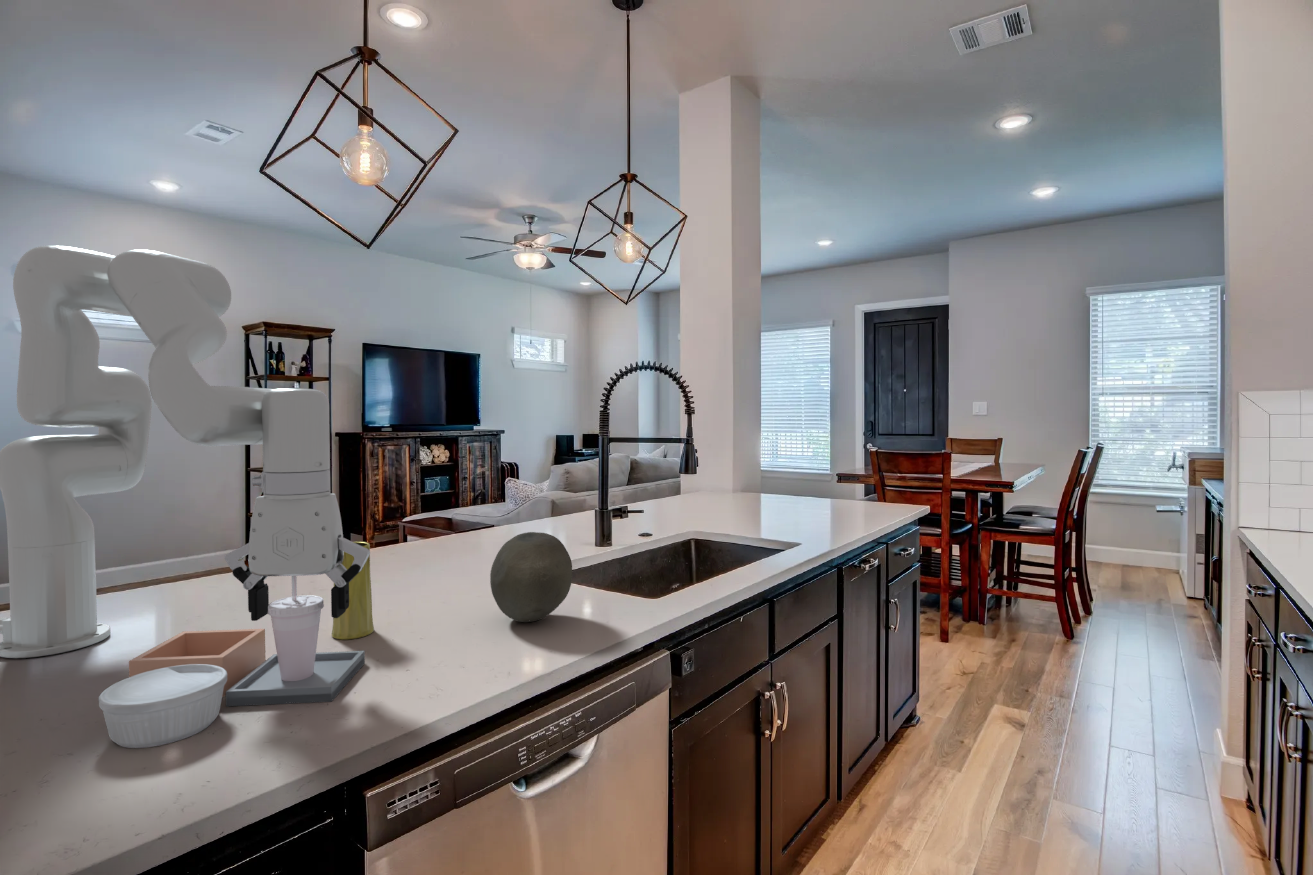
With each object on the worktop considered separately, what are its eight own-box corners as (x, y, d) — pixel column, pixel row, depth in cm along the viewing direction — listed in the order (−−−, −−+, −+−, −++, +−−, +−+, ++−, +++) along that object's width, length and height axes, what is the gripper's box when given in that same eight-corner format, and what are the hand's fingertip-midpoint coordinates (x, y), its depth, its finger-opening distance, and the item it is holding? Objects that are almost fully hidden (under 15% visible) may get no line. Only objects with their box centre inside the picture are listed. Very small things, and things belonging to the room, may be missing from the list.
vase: (357, 641, 98) (356, 549, 98) (322, 638, 99) (321, 547, 99) (381, 628, 104) (380, 541, 104) (348, 625, 105) (347, 540, 105)
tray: (226, 706, 76) (225, 691, 76) (274, 666, 88) (273, 654, 88) (331, 701, 78) (331, 686, 78) (364, 663, 90) (364, 650, 90)
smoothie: (312, 662, 87) (311, 560, 87) (333, 674, 83) (332, 568, 83) (260, 676, 82) (258, 569, 82) (280, 690, 78) (278, 577, 78)
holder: (130, 701, 78) (128, 660, 77) (184, 667, 88) (183, 631, 88) (223, 697, 79) (222, 657, 79) (265, 663, 89) (264, 628, 89)
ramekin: (248, 705, 77) (247, 662, 77) (183, 754, 66) (182, 704, 66) (153, 706, 77) (152, 662, 76) (71, 756, 65) (69, 705, 65)
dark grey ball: (472, 630, 103) (471, 538, 103) (516, 605, 117) (516, 524, 116) (551, 639, 99) (550, 544, 99) (587, 612, 113) (587, 528, 112)
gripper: (208, 488, 77) (211, 628, 78) (357, 487, 79) (359, 623, 80) (241, 482, 85) (243, 609, 85) (377, 481, 87) (378, 605, 87)
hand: (299, 616), depth 83 cm, fingers open, 9 cm apart
